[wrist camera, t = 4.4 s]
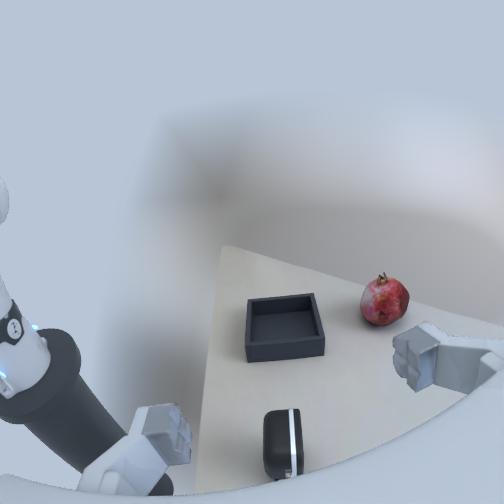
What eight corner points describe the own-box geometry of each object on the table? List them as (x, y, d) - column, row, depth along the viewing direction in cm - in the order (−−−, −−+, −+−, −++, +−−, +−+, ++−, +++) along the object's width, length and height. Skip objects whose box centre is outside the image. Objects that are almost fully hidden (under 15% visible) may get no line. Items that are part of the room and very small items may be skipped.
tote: (248, 362, 46) (244, 345, 44) (250, 315, 57) (247, 299, 55) (324, 355, 45) (325, 337, 43) (313, 309, 56) (313, 292, 54)
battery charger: (269, 447, 31) (260, 403, 26) (299, 445, 31) (299, 400, 26) (269, 494, 25) (259, 464, 20) (302, 491, 24) (304, 461, 19)
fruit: (412, 314, 49) (421, 269, 45) (389, 341, 44) (398, 294, 40) (375, 297, 56) (380, 254, 52) (349, 320, 51) (352, 275, 47)
